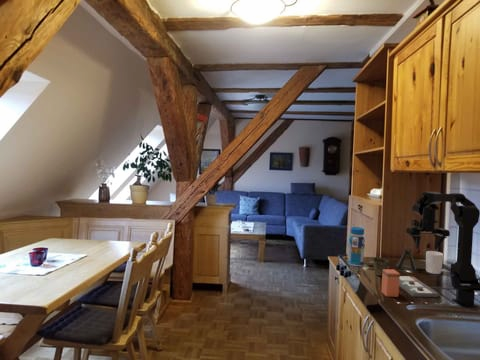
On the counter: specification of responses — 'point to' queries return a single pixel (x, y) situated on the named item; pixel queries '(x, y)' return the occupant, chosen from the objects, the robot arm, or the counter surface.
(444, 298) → the counter surface
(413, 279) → the breaker panel
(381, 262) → the cup
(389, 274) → the block
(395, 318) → the counter surface
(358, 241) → the beverage bottle
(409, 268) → the phone stand
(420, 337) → the counter surface
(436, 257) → the white cup
